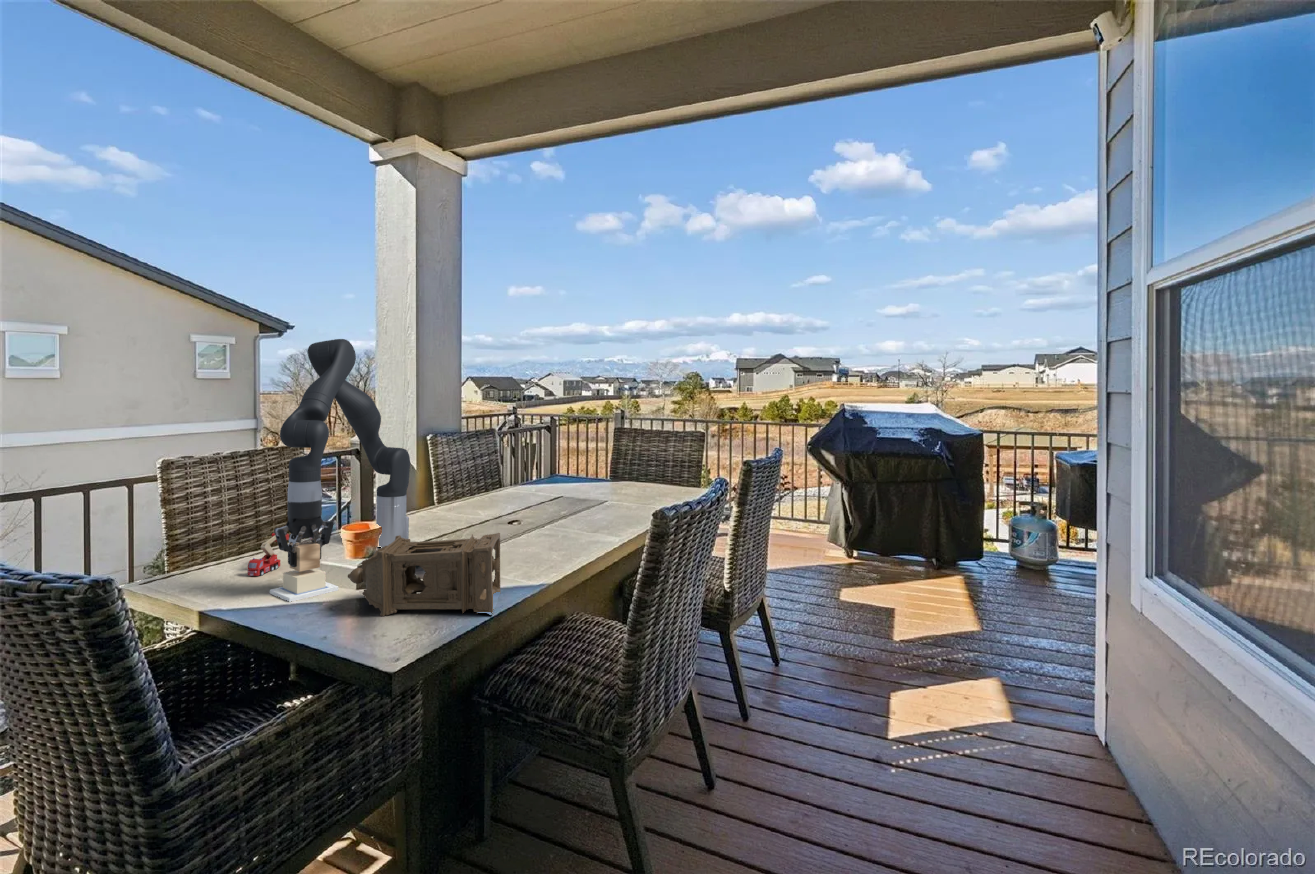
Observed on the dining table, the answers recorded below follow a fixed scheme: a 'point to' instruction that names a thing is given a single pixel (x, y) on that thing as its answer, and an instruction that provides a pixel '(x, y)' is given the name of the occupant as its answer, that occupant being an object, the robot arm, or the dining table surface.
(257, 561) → the toy fire truck
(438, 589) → the brown stone lantern
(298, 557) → the oak block
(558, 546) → the dining table surface
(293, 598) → the board
